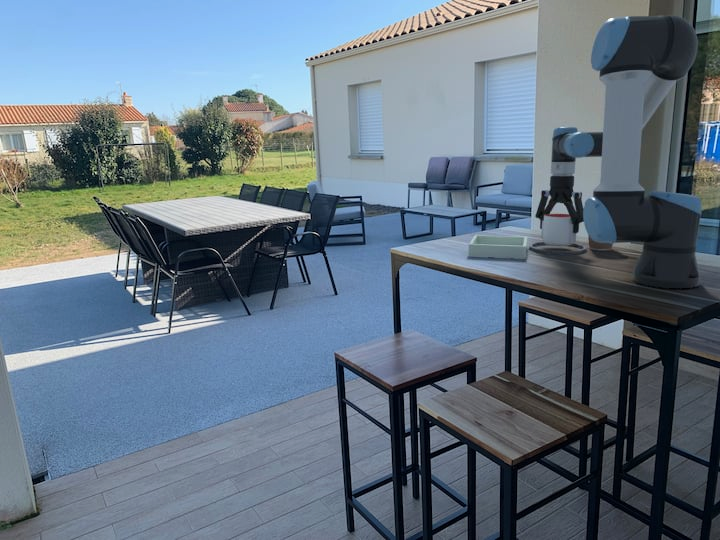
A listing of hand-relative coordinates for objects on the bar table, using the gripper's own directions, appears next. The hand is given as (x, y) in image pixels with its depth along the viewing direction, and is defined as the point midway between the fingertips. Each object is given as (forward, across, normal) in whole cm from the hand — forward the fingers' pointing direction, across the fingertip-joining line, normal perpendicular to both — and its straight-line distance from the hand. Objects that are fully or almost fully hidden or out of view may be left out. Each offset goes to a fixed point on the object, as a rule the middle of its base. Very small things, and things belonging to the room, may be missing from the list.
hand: (557, 240), depth 176 cm
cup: (+2, 0, 0) cm, 2 cm away
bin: (+3, -10, -19) cm, 22 cm away
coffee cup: (+3, +9, +11) cm, 15 cm away
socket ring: (+3, 0, 0) cm, 3 cm away
